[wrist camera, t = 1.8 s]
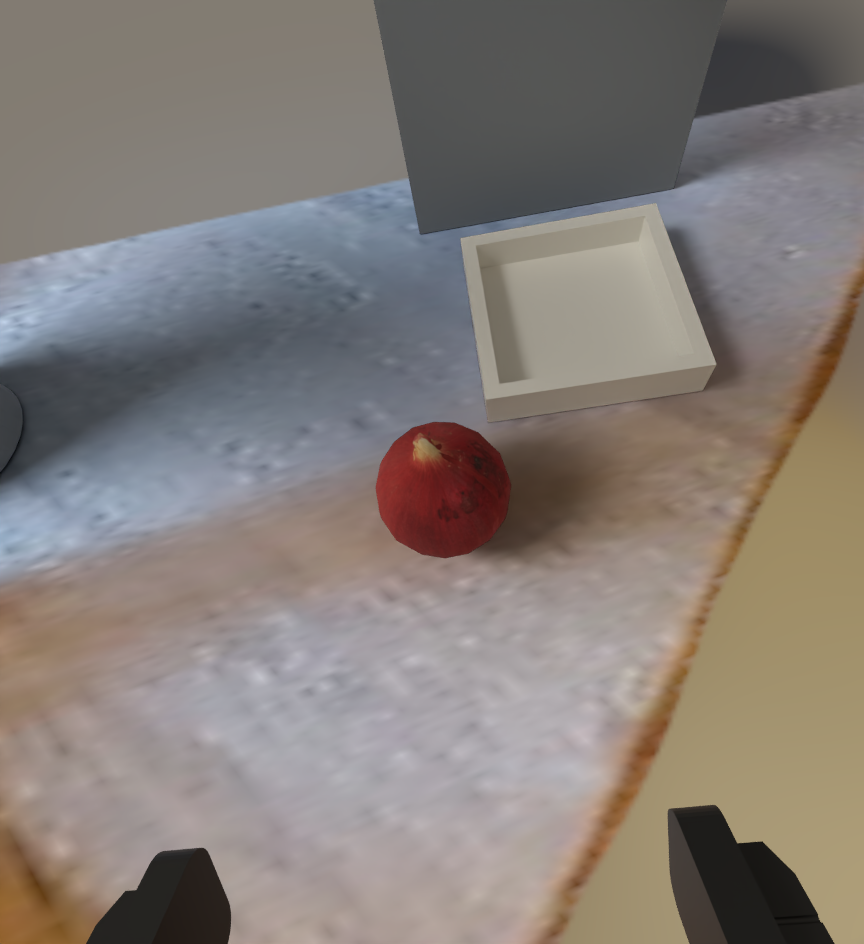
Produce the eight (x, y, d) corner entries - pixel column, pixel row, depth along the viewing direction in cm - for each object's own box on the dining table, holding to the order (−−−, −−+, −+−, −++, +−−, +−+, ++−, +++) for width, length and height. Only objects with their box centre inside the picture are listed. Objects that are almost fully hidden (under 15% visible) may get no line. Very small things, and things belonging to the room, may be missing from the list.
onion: (516, 471, 29) (516, 383, 21) (504, 583, 26) (498, 527, 19) (405, 461, 30) (369, 375, 23) (384, 568, 28) (336, 509, 20)
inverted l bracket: (729, 328, 30) (1594, -1331, 6) (436, 374, 32) (161, -820, 7) (668, 175, 36) (994, -1041, 11) (418, 221, 37) (223, -775, 13)
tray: (702, 390, 29) (716, 364, 27) (487, 422, 30) (485, 399, 28) (647, 235, 34) (655, 203, 32) (463, 267, 35) (460, 238, 33)
